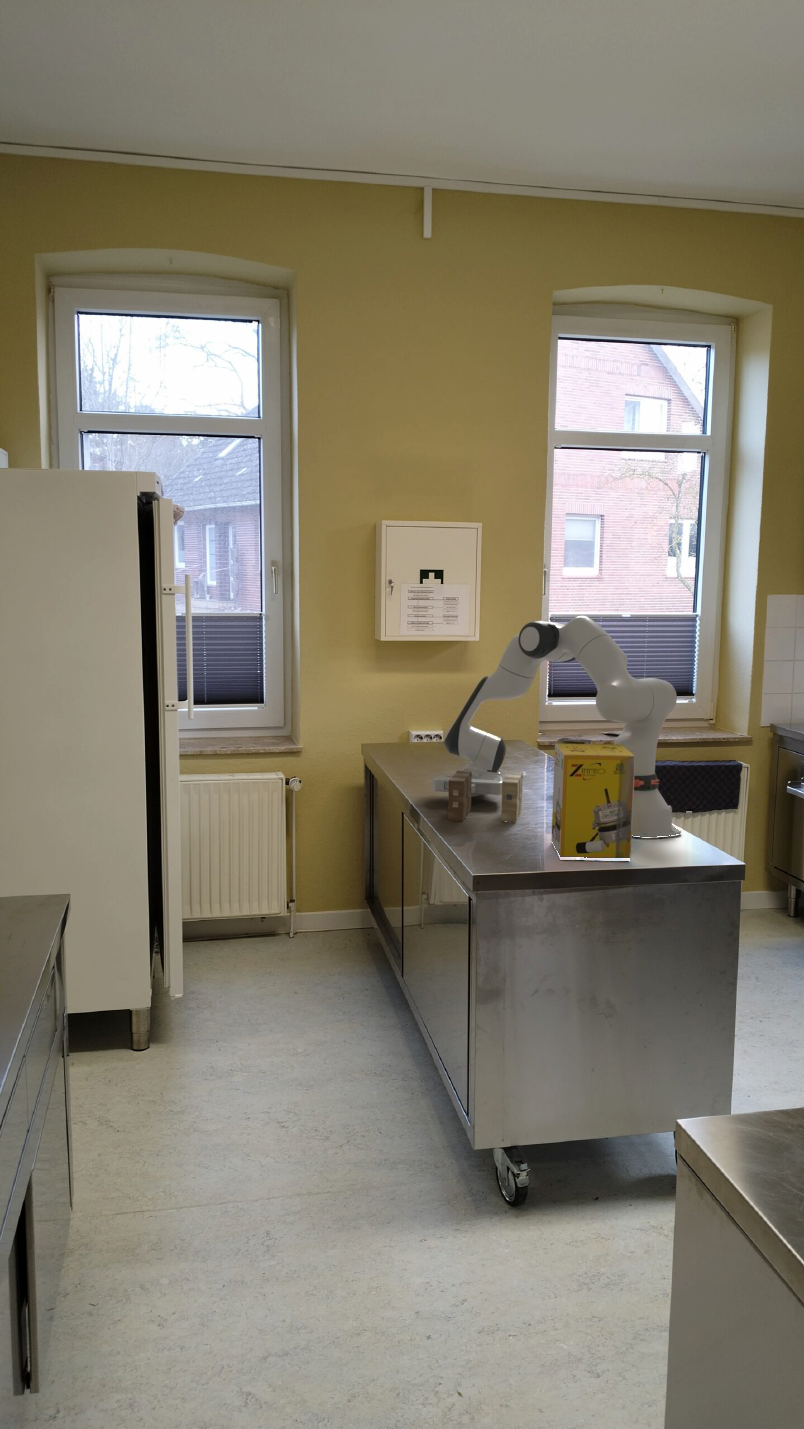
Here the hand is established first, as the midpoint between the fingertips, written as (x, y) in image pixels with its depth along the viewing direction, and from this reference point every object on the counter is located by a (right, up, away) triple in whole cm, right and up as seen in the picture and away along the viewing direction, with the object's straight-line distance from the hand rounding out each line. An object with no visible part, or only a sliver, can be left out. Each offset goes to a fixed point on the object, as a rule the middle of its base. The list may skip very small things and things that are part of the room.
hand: (464, 790), depth 284 cm
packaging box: (+27, -12, -41) cm, 51 cm away
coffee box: (+35, -2, +27) cm, 45 cm away
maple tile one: (+12, -7, -7) cm, 16 cm away
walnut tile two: (-2, -6, -6) cm, 9 cm away
